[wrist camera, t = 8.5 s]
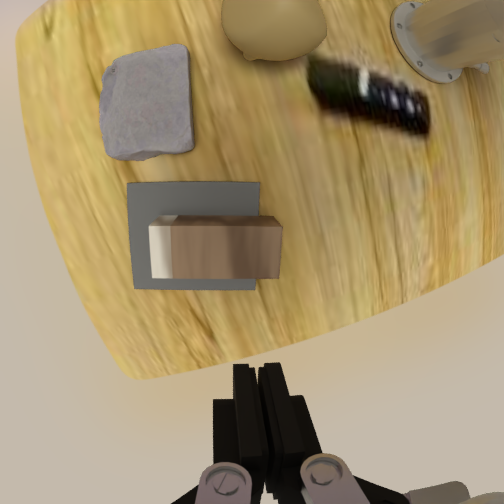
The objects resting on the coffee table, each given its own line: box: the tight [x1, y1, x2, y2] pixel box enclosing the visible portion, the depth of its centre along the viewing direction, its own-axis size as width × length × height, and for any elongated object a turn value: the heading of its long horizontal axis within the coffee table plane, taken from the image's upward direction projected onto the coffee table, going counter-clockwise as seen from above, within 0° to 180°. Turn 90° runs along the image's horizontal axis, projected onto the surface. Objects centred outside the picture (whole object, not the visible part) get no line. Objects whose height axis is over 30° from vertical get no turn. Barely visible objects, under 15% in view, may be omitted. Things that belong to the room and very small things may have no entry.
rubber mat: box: [127, 181, 260, 290], centre depth 31 cm, size 14×12×1 cm
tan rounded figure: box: [221, 0, 327, 61], centre depth 20 cm, size 10×12×11 cm
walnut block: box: [149, 215, 283, 279], centre depth 29 cm, size 5×5×12 cm
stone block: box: [99, 44, 195, 161], centre depth 26 cm, size 12×5×10 cm
